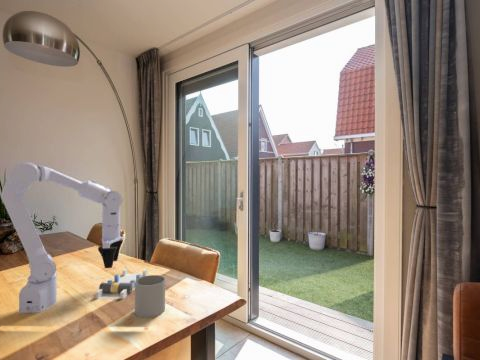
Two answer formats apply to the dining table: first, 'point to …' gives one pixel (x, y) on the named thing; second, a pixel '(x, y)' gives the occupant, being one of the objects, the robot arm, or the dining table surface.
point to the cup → (149, 296)
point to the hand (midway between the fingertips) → (111, 264)
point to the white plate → (124, 279)
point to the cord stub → (115, 287)
